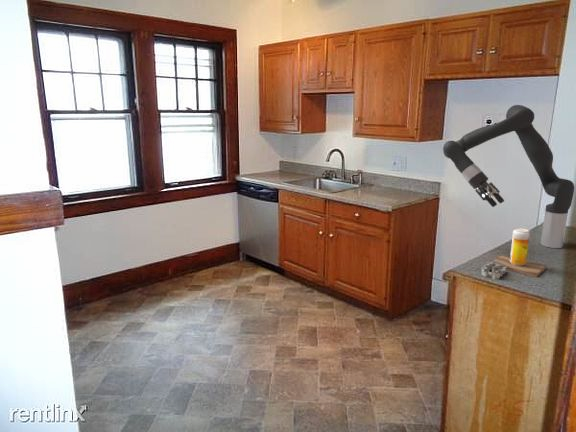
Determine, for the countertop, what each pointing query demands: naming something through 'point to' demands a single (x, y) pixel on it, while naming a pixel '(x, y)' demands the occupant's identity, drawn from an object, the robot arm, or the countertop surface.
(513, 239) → the beer glass
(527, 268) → the walnut board
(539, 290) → the countertop surface
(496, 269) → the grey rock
